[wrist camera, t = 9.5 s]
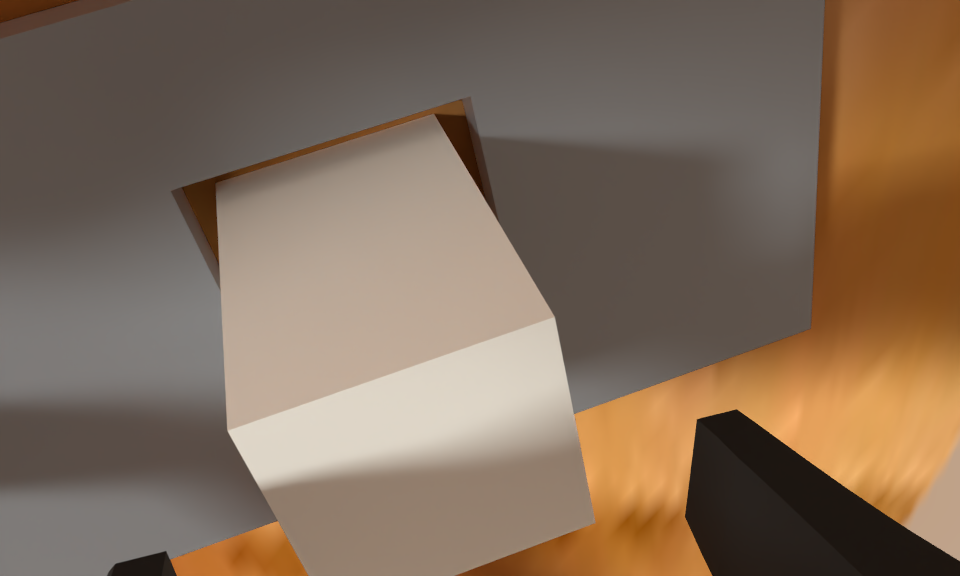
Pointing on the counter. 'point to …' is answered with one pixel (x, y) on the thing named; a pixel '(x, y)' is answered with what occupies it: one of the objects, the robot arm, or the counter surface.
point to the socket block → (336, 113)
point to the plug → (392, 362)
